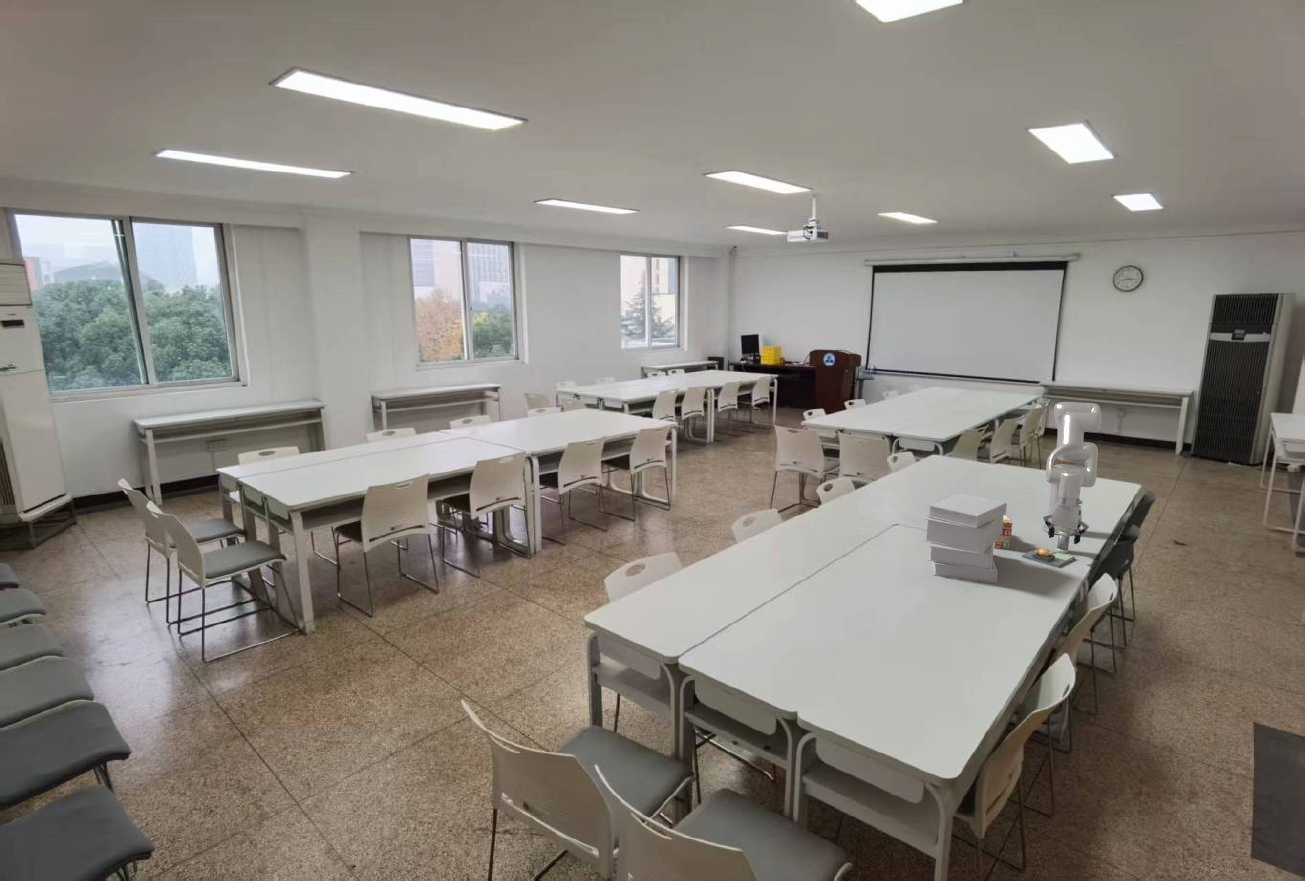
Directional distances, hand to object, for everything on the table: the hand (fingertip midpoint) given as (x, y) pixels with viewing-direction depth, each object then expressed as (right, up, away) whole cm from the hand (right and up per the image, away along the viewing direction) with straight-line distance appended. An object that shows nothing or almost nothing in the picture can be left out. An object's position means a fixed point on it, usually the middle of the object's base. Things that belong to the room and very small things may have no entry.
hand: (1063, 540), depth 276 cm
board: (-10, -7, -6) cm, 13 cm away
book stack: (-48, -8, -11) cm, 50 cm away
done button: (-14, -5, -9) cm, 17 cm away
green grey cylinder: (0, -5, +2) cm, 5 cm away
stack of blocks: (-21, -3, +16) cm, 26 cm away
